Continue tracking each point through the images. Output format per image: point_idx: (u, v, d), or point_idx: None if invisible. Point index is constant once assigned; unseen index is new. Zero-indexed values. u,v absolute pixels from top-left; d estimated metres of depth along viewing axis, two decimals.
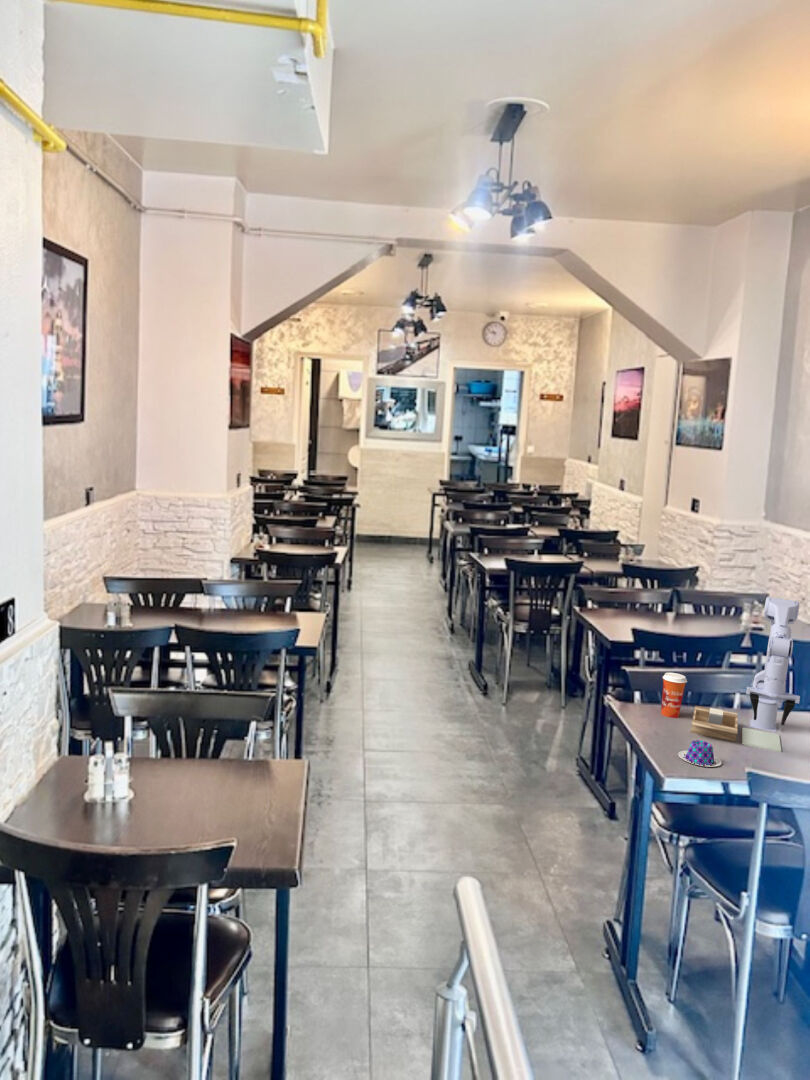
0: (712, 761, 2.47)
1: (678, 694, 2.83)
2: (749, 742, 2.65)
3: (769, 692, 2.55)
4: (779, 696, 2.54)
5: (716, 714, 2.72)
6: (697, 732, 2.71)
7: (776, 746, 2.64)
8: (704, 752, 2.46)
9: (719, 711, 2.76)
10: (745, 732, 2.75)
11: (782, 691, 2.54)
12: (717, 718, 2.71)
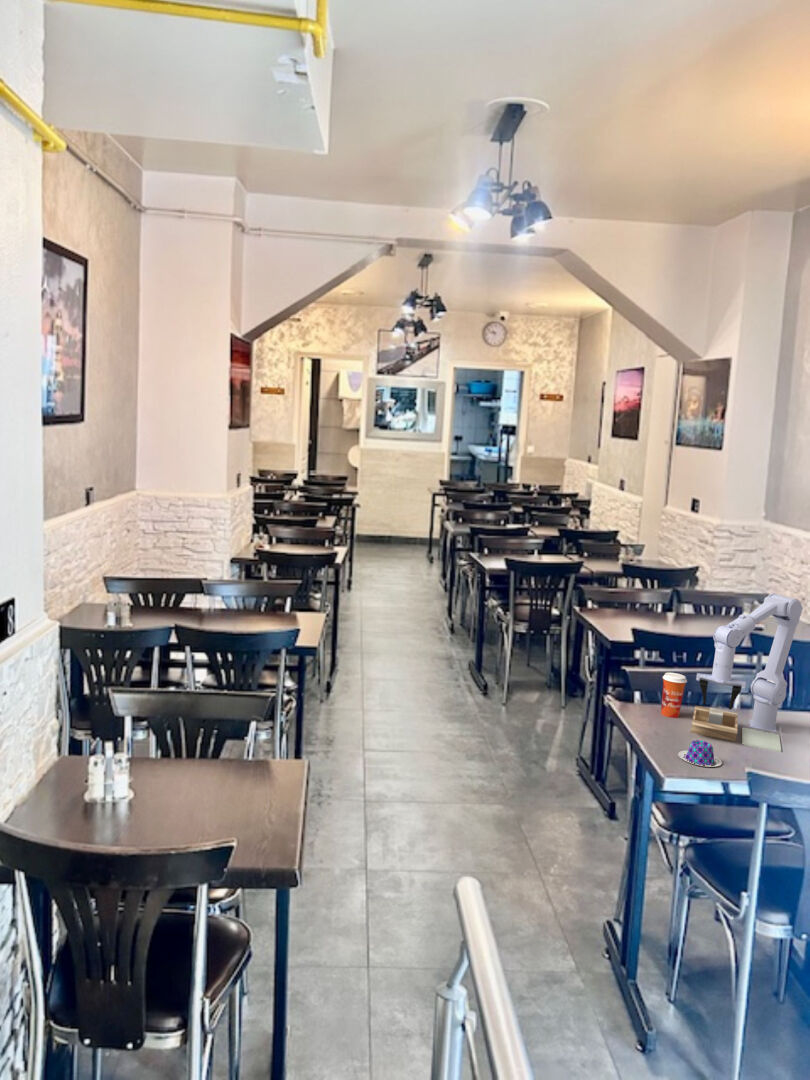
0: (712, 761, 2.47)
1: (678, 694, 2.83)
2: (749, 742, 2.65)
3: (717, 678, 2.70)
4: (726, 682, 2.69)
5: (716, 714, 2.72)
6: (697, 732, 2.71)
7: (776, 746, 2.64)
8: (704, 752, 2.46)
9: (719, 711, 2.76)
10: (745, 732, 2.75)
11: (729, 677, 2.70)
12: (717, 718, 2.71)
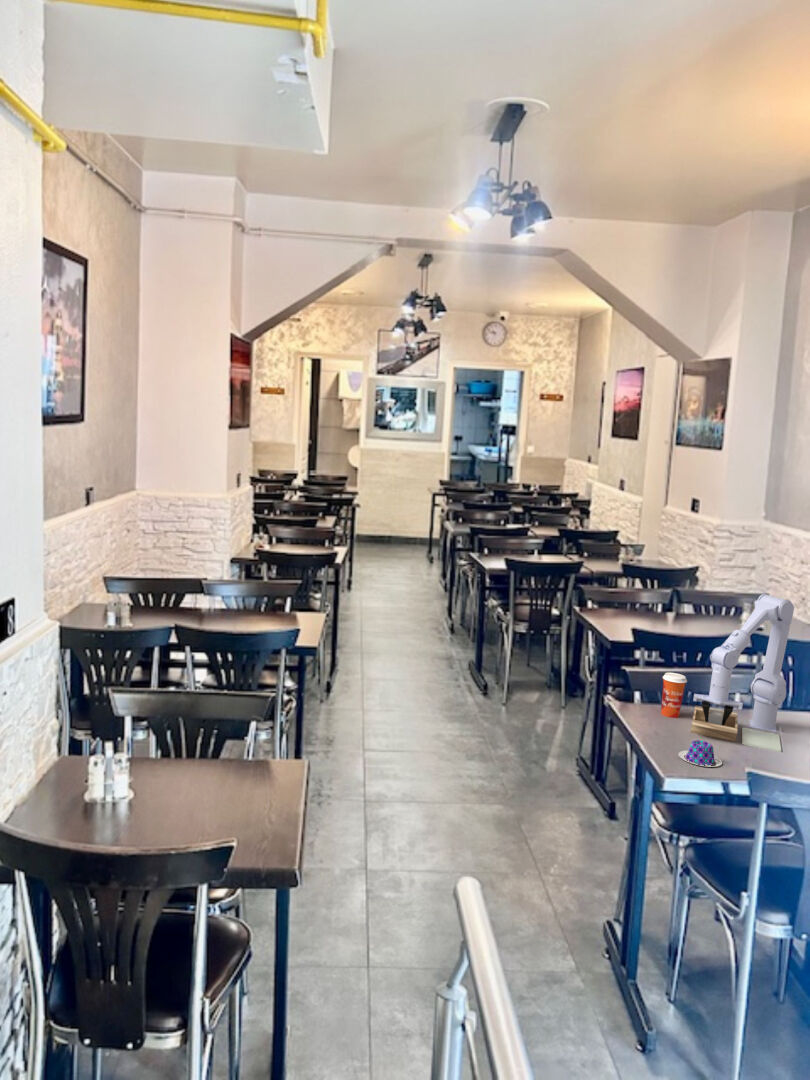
0: (712, 761, 2.47)
1: (678, 694, 2.83)
2: (749, 742, 2.65)
3: (714, 699, 2.71)
4: (723, 703, 2.70)
5: (716, 714, 2.72)
6: (697, 732, 2.71)
7: (776, 746, 2.64)
8: (705, 752, 2.46)
9: (719, 711, 2.76)
10: (745, 732, 2.75)
11: (726, 698, 2.71)
12: (717, 718, 2.71)
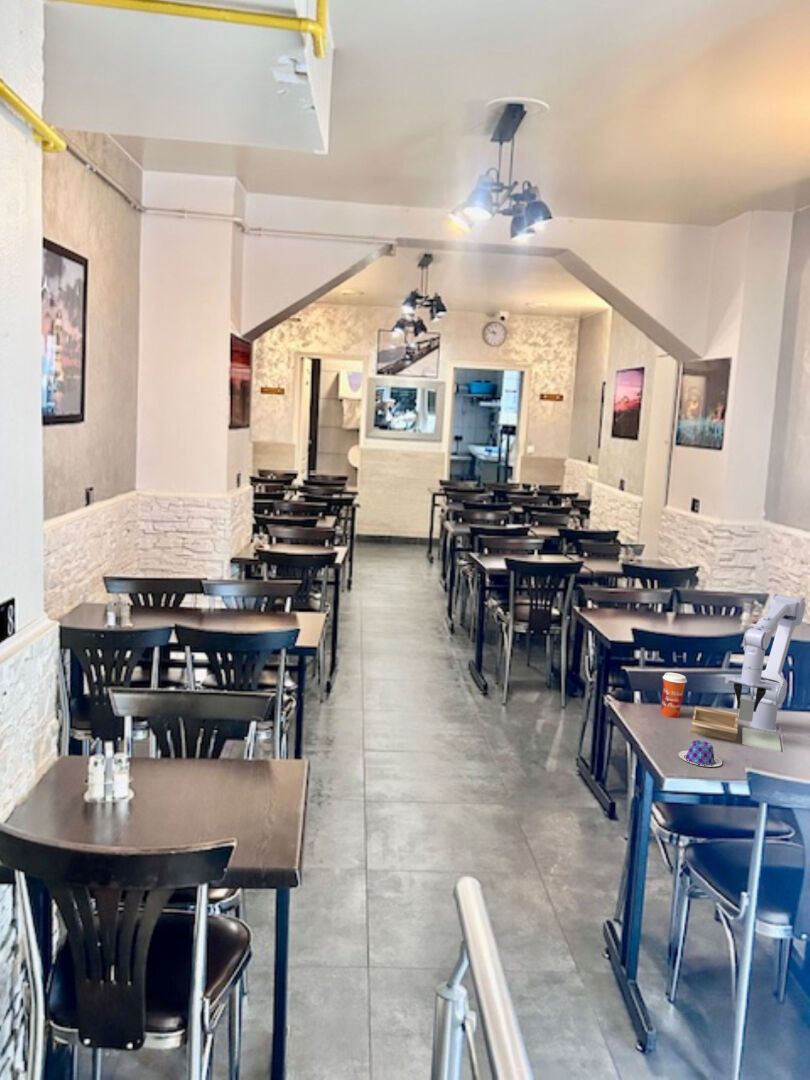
0: (712, 761, 2.47)
1: (678, 694, 2.83)
2: (749, 742, 2.65)
3: (746, 681, 2.67)
4: (756, 685, 2.66)
5: (748, 700, 2.69)
6: (697, 732, 2.71)
7: (776, 746, 2.64)
8: (704, 752, 2.46)
9: (750, 700, 2.73)
10: (745, 732, 2.75)
11: (759, 680, 2.67)
12: (749, 703, 2.68)
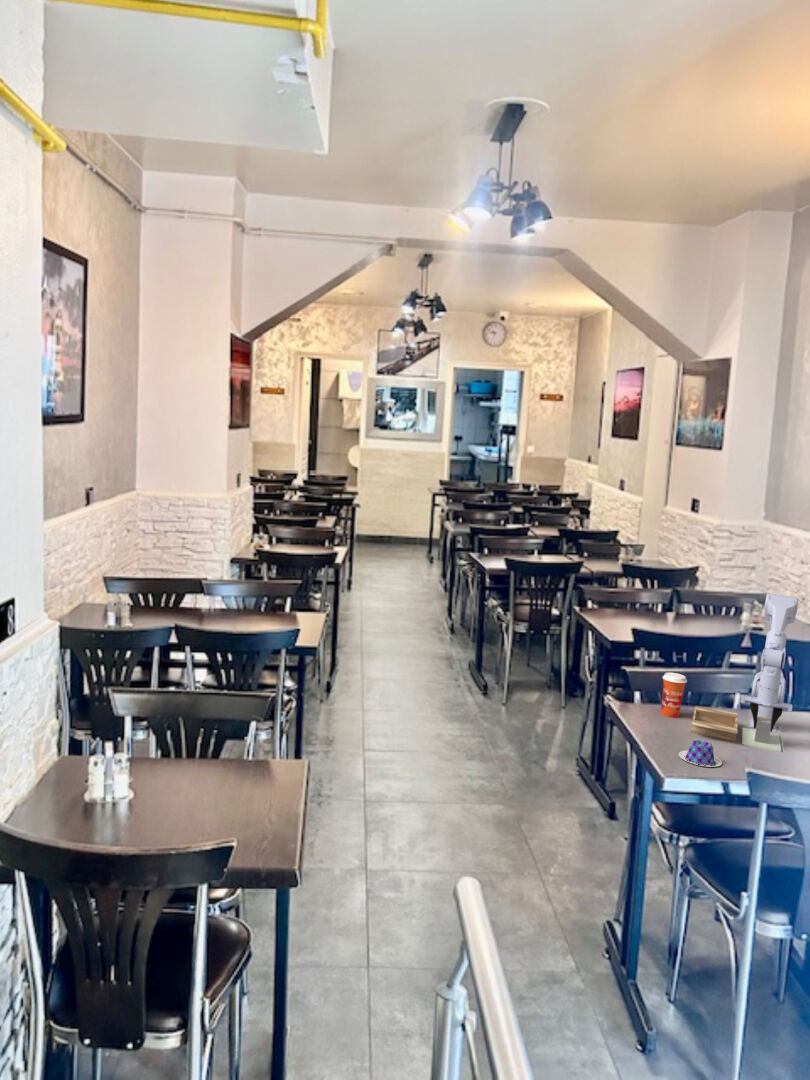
0: (712, 761, 2.47)
1: (678, 694, 2.83)
2: (749, 742, 2.65)
3: (763, 701, 2.66)
4: (772, 705, 2.65)
5: (764, 722, 2.67)
6: (697, 732, 2.71)
7: (776, 746, 2.64)
8: (703, 752, 2.46)
9: (766, 719, 2.71)
10: (745, 732, 2.75)
11: (775, 700, 2.65)
12: (765, 726, 2.65)
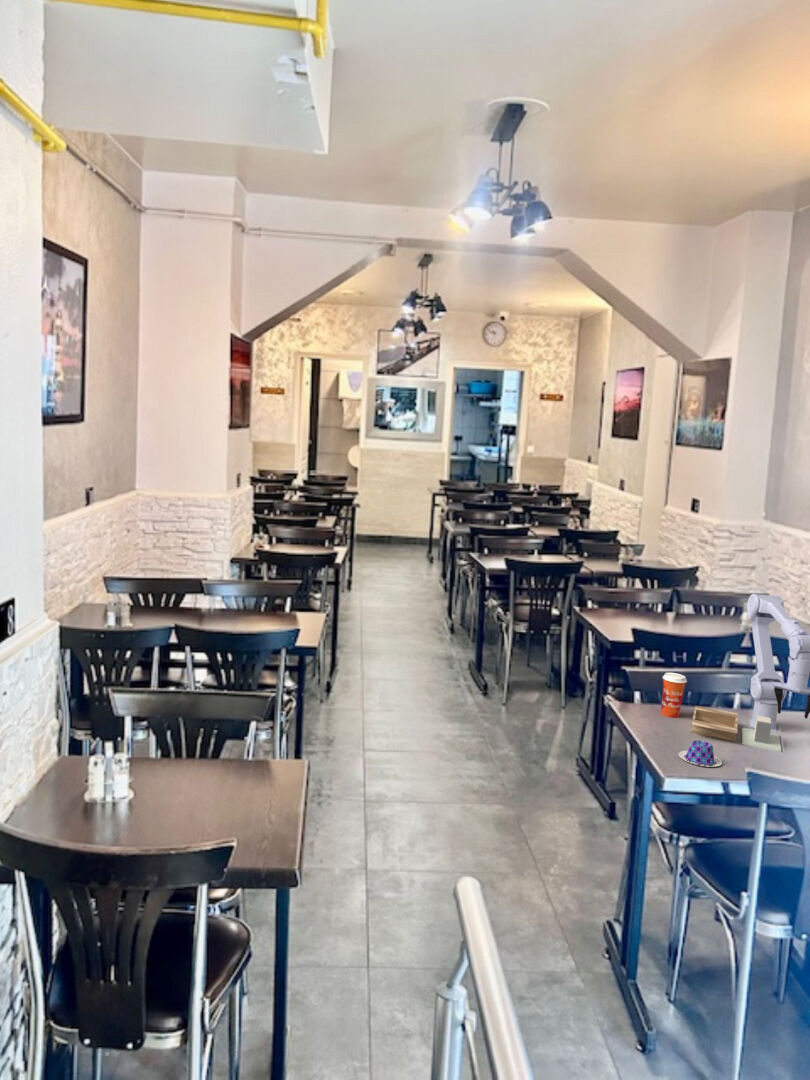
0: (711, 761, 2.46)
1: (678, 694, 2.83)
2: (749, 742, 2.65)
3: (793, 687, 2.66)
4: (803, 690, 2.65)
5: (764, 722, 2.67)
6: (697, 732, 2.71)
7: (776, 746, 2.64)
8: (702, 752, 2.46)
9: (766, 719, 2.71)
10: (745, 732, 2.75)
11: (805, 686, 2.65)
12: (765, 726, 2.65)
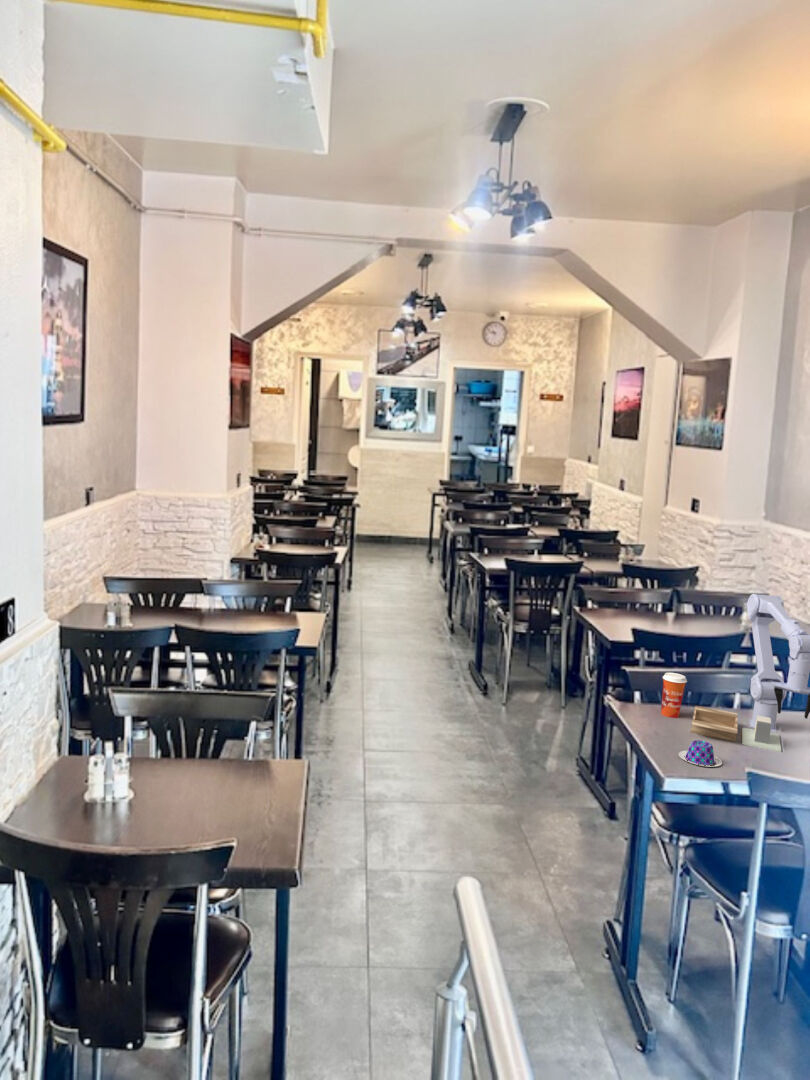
0: (711, 762, 2.46)
1: (678, 694, 2.83)
2: (749, 742, 2.65)
3: (793, 687, 2.66)
4: (803, 690, 2.65)
5: (764, 722, 2.67)
6: (697, 732, 2.71)
7: (776, 746, 2.64)
8: (702, 752, 2.46)
9: (766, 719, 2.71)
10: (745, 732, 2.75)
11: (805, 686, 2.65)
12: (765, 726, 2.65)
